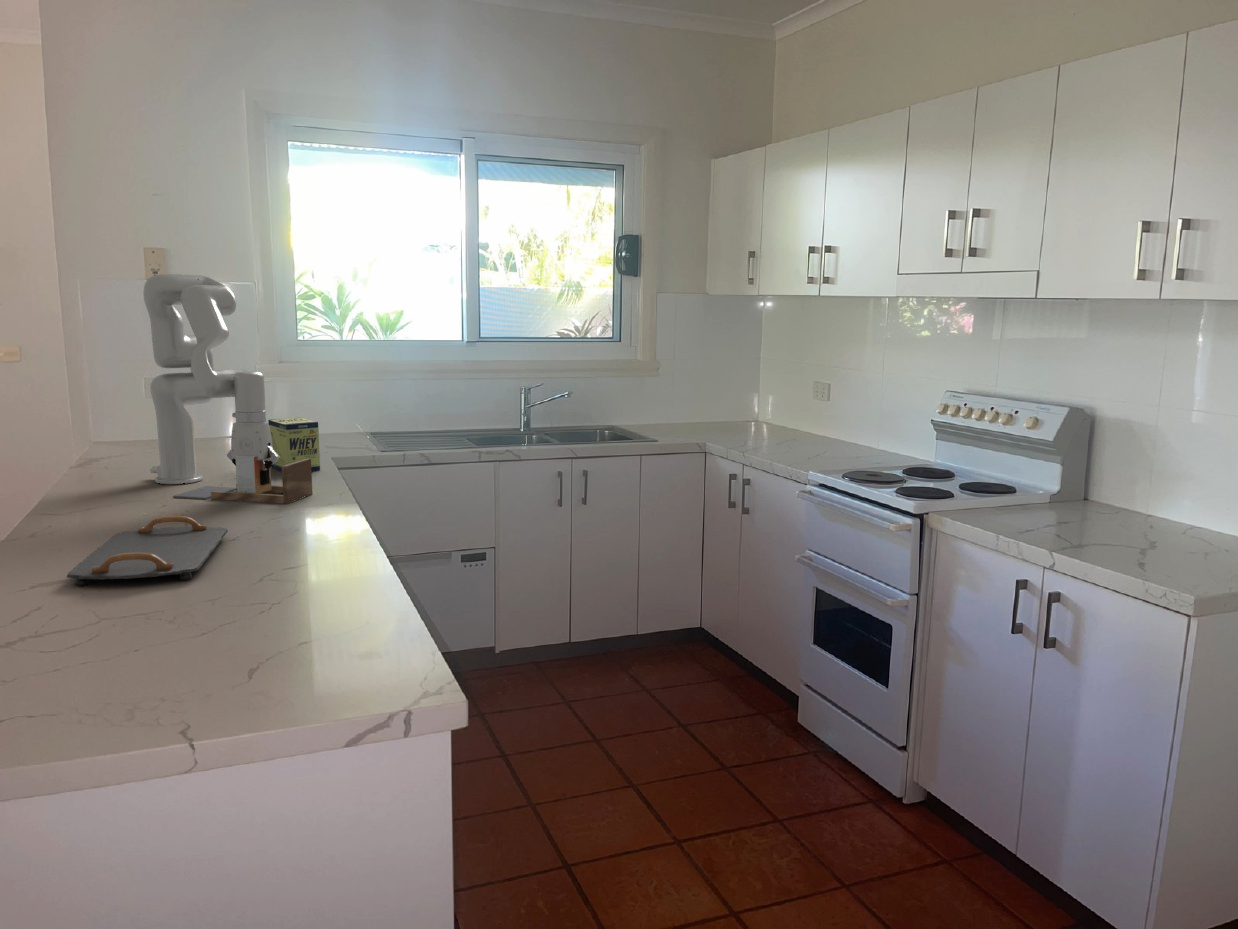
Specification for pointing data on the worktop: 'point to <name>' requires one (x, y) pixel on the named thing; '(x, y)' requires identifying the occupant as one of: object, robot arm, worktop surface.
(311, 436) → the protein box
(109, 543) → the serving board
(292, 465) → the lane rack
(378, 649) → the worktop surface
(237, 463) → the small box
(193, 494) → the mat
